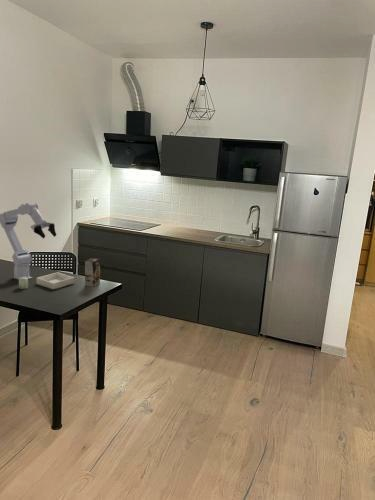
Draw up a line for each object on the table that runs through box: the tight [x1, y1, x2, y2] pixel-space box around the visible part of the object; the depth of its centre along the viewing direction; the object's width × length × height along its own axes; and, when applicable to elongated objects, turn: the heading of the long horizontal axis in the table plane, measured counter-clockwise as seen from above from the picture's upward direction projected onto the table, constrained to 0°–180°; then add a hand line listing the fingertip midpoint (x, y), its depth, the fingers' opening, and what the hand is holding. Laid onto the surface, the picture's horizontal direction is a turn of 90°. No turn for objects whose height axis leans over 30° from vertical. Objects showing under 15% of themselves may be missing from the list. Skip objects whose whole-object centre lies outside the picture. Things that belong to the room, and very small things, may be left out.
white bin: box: [36, 272, 75, 291], centre depth 230 cm, size 16×16×4 cm
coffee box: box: [84, 257, 101, 288], centre depth 232 cm, size 9×6×16 cm
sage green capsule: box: [18, 277, 29, 290], centre depth 220 cm, size 5×5×6 cm
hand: (49, 236), depth 214 cm, fingers open, 7 cm apart
